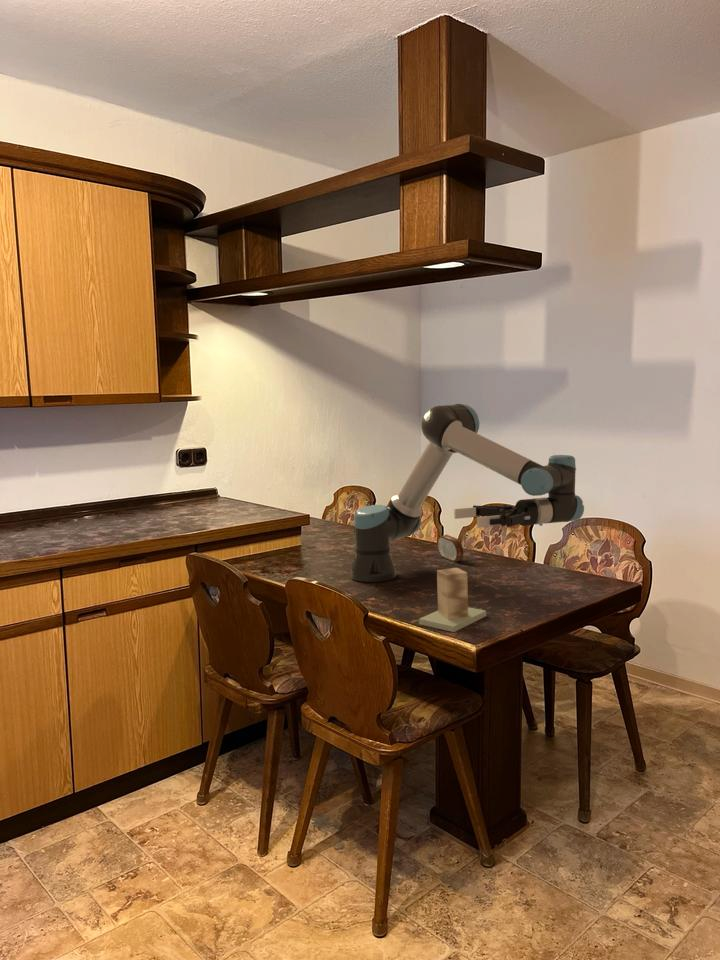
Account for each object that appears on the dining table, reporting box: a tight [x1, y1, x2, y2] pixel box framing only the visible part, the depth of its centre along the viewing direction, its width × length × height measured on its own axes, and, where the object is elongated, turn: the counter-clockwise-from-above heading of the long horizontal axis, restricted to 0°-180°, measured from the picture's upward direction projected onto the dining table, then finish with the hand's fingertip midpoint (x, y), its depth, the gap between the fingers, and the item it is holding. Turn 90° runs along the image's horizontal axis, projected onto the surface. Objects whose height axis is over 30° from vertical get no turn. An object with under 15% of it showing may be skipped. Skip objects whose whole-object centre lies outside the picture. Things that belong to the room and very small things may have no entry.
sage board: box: [418, 606, 487, 633], centre depth 197 cm, size 16×11×2 cm
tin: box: [437, 534, 464, 563], centre depth 265 cm, size 15×3×8 cm, turn 22°
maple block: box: [436, 567, 469, 619], centre depth 197 cm, size 6×6×12 cm
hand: (465, 518), depth 203 cm, fingers open, 13 cm apart
